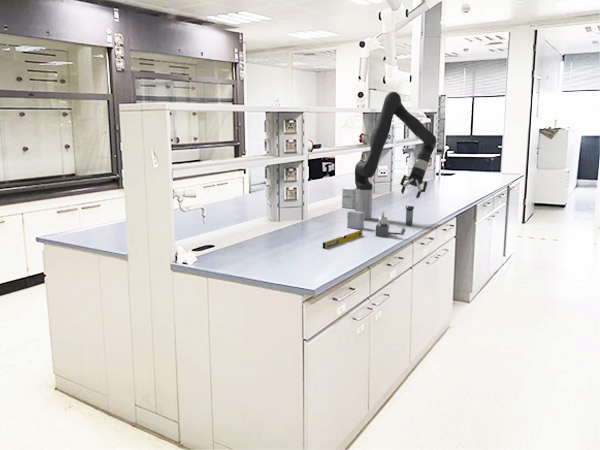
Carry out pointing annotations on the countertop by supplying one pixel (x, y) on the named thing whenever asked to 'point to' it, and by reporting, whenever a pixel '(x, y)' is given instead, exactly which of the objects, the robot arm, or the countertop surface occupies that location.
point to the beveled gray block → (382, 226)
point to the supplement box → (348, 197)
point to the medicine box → (355, 219)
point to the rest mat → (396, 230)
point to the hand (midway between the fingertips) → (409, 195)
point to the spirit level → (342, 239)
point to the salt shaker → (409, 215)
